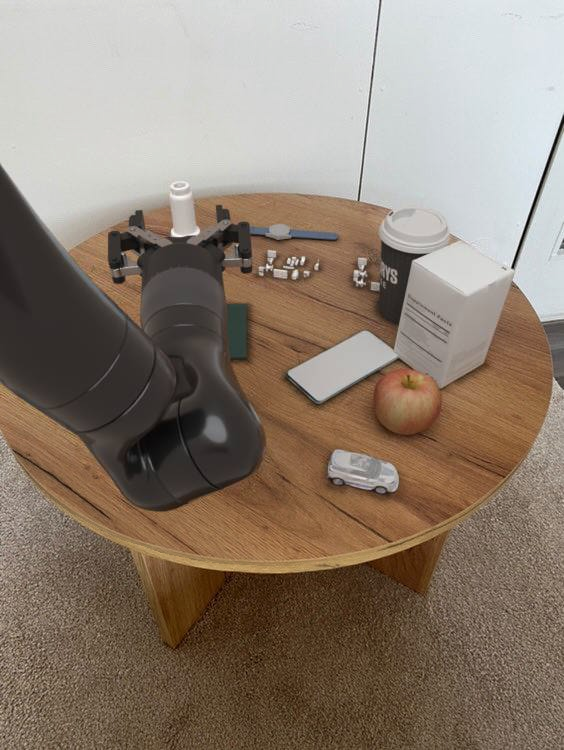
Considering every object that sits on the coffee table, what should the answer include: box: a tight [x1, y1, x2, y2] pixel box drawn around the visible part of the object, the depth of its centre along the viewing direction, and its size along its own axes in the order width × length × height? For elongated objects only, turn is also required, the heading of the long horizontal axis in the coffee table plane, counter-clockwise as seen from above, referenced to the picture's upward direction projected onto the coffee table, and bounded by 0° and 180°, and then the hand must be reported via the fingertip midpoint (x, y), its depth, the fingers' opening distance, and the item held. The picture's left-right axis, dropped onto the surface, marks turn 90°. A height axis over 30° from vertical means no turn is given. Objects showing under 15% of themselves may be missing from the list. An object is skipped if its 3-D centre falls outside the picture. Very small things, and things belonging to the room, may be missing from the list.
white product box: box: [393, 239, 516, 389], centre depth 74 cm, size 9×9×15 cm
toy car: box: [326, 449, 400, 495], centre depth 64 cm, size 4×8×3 cm, turn 76°
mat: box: [226, 303, 248, 361], centre depth 83 cm, size 14×12×1 cm
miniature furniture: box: [258, 249, 380, 292], centre depth 93 cm, size 7×25×2 cm, turn 77°
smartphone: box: [285, 329, 400, 405], centre depth 78 cm, size 7×1×15 cm
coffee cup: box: [377, 205, 451, 325], centre depth 82 cm, size 10×10×15 cm
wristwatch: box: [250, 223, 339, 241], centre depth 102 cm, size 4×20×1 cm, turn 83°
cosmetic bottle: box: [168, 180, 202, 237], centre depth 75 cm, size 6×6×22 cm
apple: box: [373, 368, 443, 436], centre depth 68 cm, size 8×8×8 cm
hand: (179, 215), depth 63 cm, fingers open, 8 cm apart
